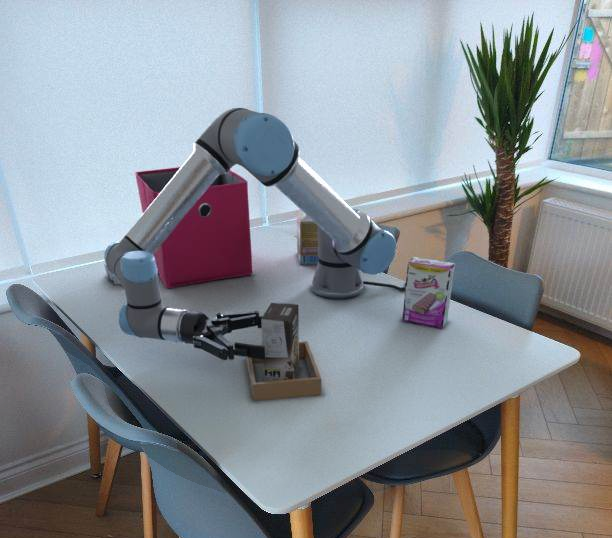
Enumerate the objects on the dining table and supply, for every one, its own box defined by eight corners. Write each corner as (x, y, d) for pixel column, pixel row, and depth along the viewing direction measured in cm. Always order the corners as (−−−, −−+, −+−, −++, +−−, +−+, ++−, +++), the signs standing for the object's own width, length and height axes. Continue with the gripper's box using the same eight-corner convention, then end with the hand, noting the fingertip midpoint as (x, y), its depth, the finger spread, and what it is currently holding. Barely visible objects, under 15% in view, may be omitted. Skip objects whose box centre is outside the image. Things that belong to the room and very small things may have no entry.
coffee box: (291, 388, 132) (290, 321, 123) (262, 385, 133) (259, 318, 124) (300, 368, 139) (299, 303, 130) (273, 365, 140) (270, 301, 131)
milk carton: (297, 254, 205) (296, 196, 195) (328, 252, 206) (329, 195, 196) (300, 264, 196) (300, 205, 186) (332, 263, 197) (333, 204, 187)
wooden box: (307, 355, 144) (307, 341, 142) (321, 394, 130) (321, 378, 127) (246, 361, 142) (245, 345, 140) (253, 400, 128) (252, 384, 125)
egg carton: (138, 281, 184) (136, 268, 182) (114, 286, 181) (111, 273, 179) (128, 270, 192) (126, 258, 190) (104, 275, 189) (102, 262, 187)
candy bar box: (401, 321, 160) (406, 262, 151) (406, 314, 164) (412, 256, 155) (443, 329, 156) (451, 268, 147) (447, 322, 160) (455, 262, 151)
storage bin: (165, 290, 178) (152, 191, 163) (146, 259, 200) (133, 170, 185) (255, 276, 188) (250, 181, 172) (227, 248, 210) (221, 162, 194)
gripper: (210, 319, 148) (292, 329, 143) (161, 367, 128) (255, 381, 123) (207, 290, 144) (292, 300, 139) (156, 335, 124) (253, 349, 119)
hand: (275, 338), depth 131 cm, fingers open, 13 cm apart
